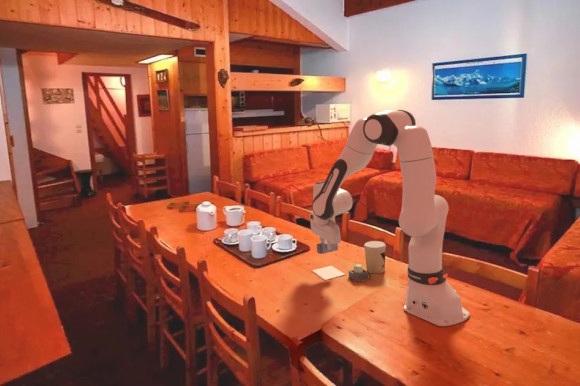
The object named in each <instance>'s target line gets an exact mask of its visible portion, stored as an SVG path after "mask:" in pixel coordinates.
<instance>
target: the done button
mask: <svg viewBox="0 0 580 386" xmlns="http://www.w3.org/2000/svg"><path fill="white" fill-rule="evenodd" d="M353 269H354V273H355V274H361V273H363V269H364V266H363V265H362V264H361V263H360V264H359V263H357V264H354V265H353Z"/></svg>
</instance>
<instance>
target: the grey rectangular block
mask: <svg viewBox="0 0 580 386" xmlns="http://www.w3.org/2000/svg"><path fill="white" fill-rule="evenodd" d="M326 245H327V241H325V242H323V243H321V242H319V243H317V244H316V252H317V253H318V254H320V255H321V254H323V255H324V254H327V253H333V252H335V251H339V243H338V244H332V245H331V250H328V249H326Z"/></svg>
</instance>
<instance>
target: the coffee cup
mask: <svg viewBox="0 0 580 386" xmlns="http://www.w3.org/2000/svg"><path fill="white" fill-rule="evenodd" d="M363 248H364V257H365V264H366V271H367V272H369V273H371V274H381V273H383V272H385V269H386V248H387V245H386V243H385V242H383V241H381V240H380V241H379V240H370V241H367V242H365V243H364V245H363Z"/></svg>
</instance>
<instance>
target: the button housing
mask: <svg viewBox="0 0 580 386" xmlns="http://www.w3.org/2000/svg"><path fill="white" fill-rule="evenodd" d="M369 273H370V272H368V271H367V270H365V269H364V268H363V273H361V274H355V273H354V268H353V269H350V270H348V278H349V279H351V280H352V281H354V282H355V283H359V282H362V281H366V280H367V281H368V280H369V278H370V274H369Z"/></svg>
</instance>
